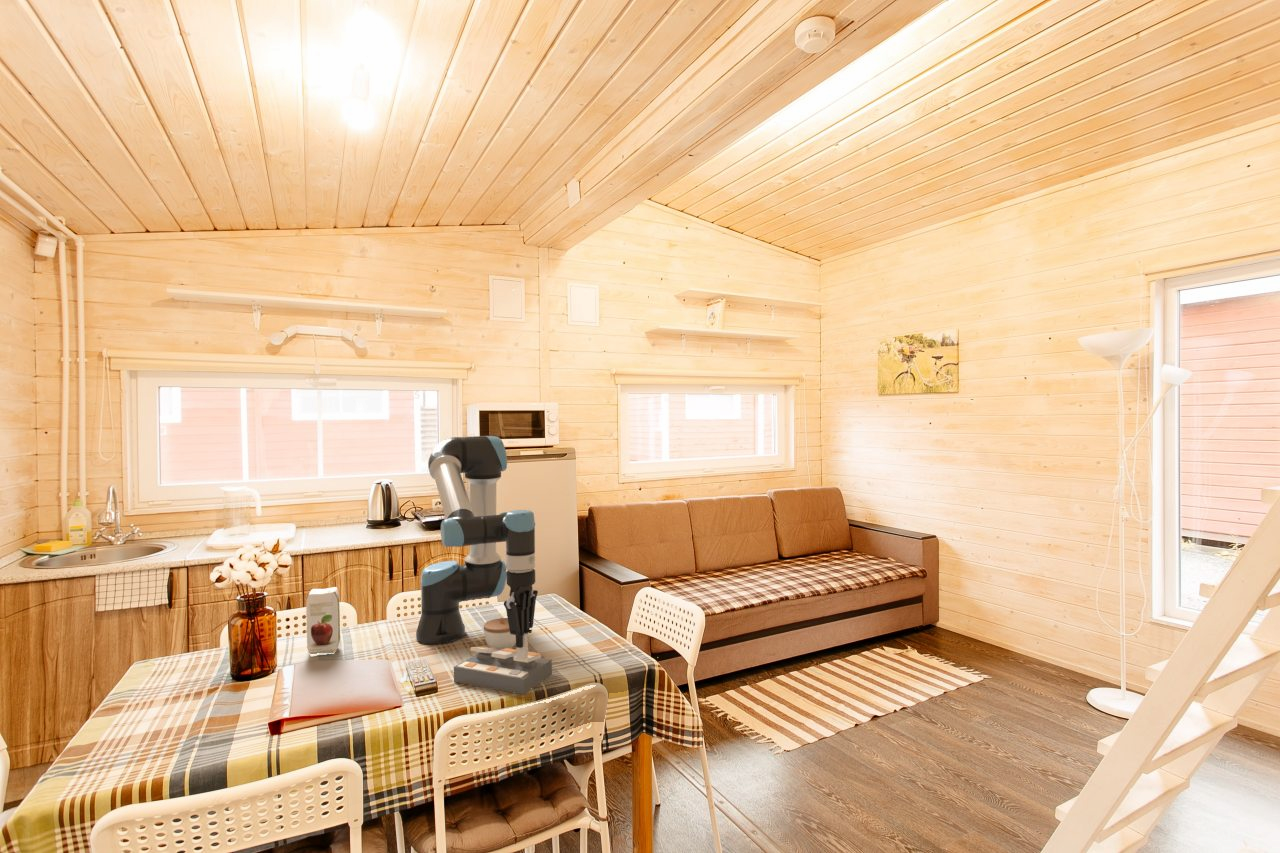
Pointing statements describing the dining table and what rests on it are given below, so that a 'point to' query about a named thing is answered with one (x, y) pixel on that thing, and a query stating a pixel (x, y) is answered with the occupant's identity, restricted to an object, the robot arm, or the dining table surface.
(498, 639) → the lidded jar
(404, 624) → the dining table surface
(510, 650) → the switch
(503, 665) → the switch unit
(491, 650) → the switch
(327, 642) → the juice carton
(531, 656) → the switch
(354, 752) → the dining table surface
